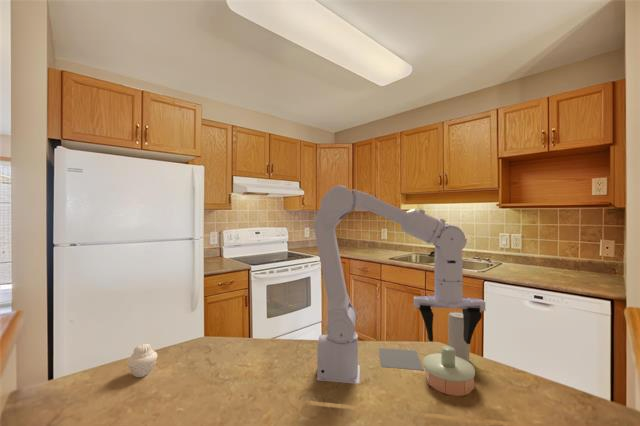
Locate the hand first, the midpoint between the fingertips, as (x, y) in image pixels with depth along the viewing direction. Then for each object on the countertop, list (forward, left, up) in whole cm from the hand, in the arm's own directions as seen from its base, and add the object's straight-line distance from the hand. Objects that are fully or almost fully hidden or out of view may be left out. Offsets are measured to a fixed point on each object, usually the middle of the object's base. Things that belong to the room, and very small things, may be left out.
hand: (448, 340), depth 63 cm
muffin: (-70, -7, -10) cm, 72 cm away
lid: (0, 0, -6) cm, 6 cm away
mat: (-9, +9, -10) cm, 17 cm away
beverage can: (+6, +11, -10) cm, 16 cm away
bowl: (0, 0, -10) cm, 10 cm away
